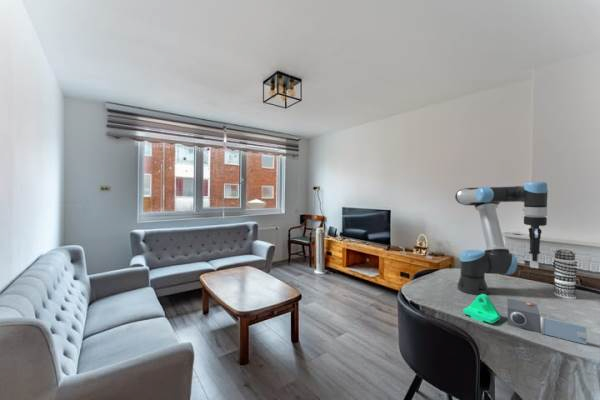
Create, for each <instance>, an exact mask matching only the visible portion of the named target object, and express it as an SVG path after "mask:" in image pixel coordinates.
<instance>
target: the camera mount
mask: <svg viewBox="0 0 600 400" xmlns="http://www.w3.org/2000/svg"><path fill="white" fill-rule="evenodd" d="M462 311H463V312H462V313H463V314H465V315H468V316H470V318H471V319H473V320H475V321H478V322H482V323H484V322H487V323H489V324H494V323H496V322H497V321H500V320H501V315H500V313H499V311H498V310H497V308H496V306H495V304H493V301H492V300H491V299H490V296H488V294H486V295H485V294H481V295H476V297H475V299H474V300H473V301H472V302H471V304H470V305H469V306H467V307H465V308H463V310H462Z"/></svg>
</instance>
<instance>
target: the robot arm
mask: <svg viewBox="0 0 600 400" xmlns="http://www.w3.org/2000/svg"><path fill="white" fill-rule="evenodd" d="M548 192H549V190H548V184H547V182H545V181H534V182H533V181H531V182H530V181H529V182H525V183H524V185H516V186H484V187H483V186H482V187H464V188H461V189H459V190H457V191H456V193H455V194H454V199H455V201H456V202H457V203H458V204H460V205H462V206H474V209H475V210H476V211H478V214H479V217H480V223H481V228H482V232H483V238H484V241H485V246H486V248H485V249H484V251H483V250H481V249H480V250H479V249H468V250H466V249H465V250H464V251H461V252H460V257H459V263H460V266H459V267H460V277H459V279H458V281H457V284H456V285H457V290H459V292H463V293H466V294H470V295H474V296H478V295H481V294H485V295H489V287H488V283H487V282H486V279H485V277H486V276H485V275H486V274H489V275H490V274H491V275H503V276H504V275H505V276H506V275H512V274H515V272H516V270H517V269H518V260H517V256H516V255H515V254H513V253H511V252H510V249H509V248H507V247H506V246H505V242H504V238H503V234H502V229H501V226H500V222H499V217H498V214H497V208H498V207H499V205H500V204H501V203H513V202H515V203H519V202H520V203H521V202H522V203H523V208H522V211H524V212H523V215H524V216H523V224H524V225H526V226H530V227H528V235H529V251H528V254H529V267H530V268H533V269H534V268H535V269H539V266H540V264H539V262H540V261H539V259H540V254H541V251H540V247H541V246H540V245H541V236H542V235H541V234H542V229H541V228H540V227H546V226H547V222H548V218H547V216H548Z"/></svg>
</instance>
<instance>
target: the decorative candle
mask: <svg viewBox="0 0 600 400" xmlns="http://www.w3.org/2000/svg"><path fill="white" fill-rule="evenodd" d="M553 253H554V258H553V259H554V260H553V262H552V267H553V271H552V272H553V274H554V281H553V283H554V284H553V295H555V296H557V297H560V298H563V299H569V300H577V293H578V292H577V283H576V277H577V273H578V272H577V270H578V268H576V267H577V266H578V265H577V264H578V262H577V261H576V253H574V251H572V250H569V249H562V248H561V249H556V250H555V251H554V252H553Z"/></svg>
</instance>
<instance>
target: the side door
mask: <svg viewBox="0 0 600 400" xmlns="http://www.w3.org/2000/svg"><path fill="white" fill-rule="evenodd" d="M540 334H542V335H545V336H546V335H547V336H550V337H555V338H559V339H563V340H567V341H571V342H575V343H579V344H582V345H587V339H588V333H587V326H585V325H581V324H575V323H571V322H566V321H562V320H557V319H554V318H553V319H552V318H548V317H544V316H540Z"/></svg>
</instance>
